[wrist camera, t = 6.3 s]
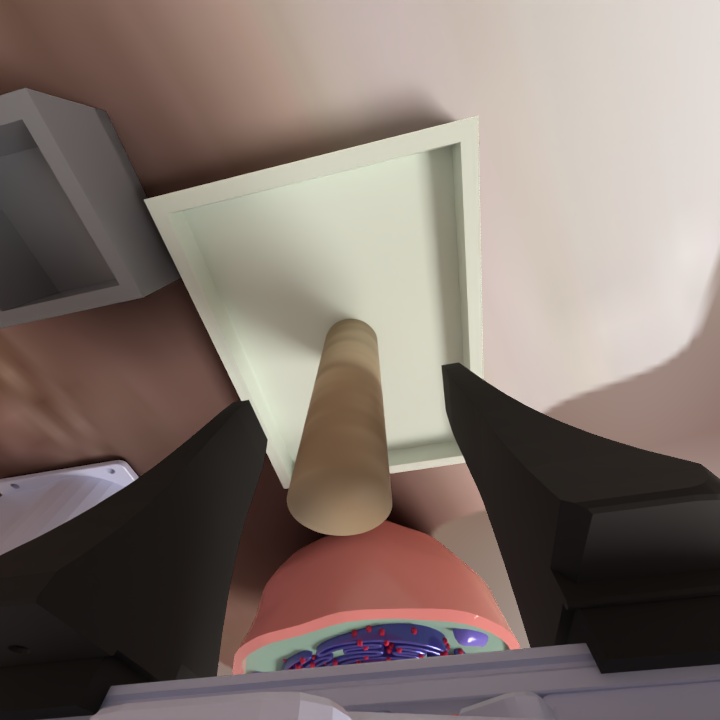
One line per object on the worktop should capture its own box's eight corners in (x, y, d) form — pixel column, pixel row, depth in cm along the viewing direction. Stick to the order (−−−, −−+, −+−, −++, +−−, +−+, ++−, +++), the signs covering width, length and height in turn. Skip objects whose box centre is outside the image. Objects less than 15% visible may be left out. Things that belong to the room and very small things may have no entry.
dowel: (335, 371, 16) (310, 542, 9) (317, 327, 15) (268, 480, 7) (383, 358, 16) (403, 525, 8) (368, 312, 15) (375, 456, 7)
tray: (289, 465, 21) (283, 488, 19) (169, 197, 13) (143, 199, 11) (475, 437, 19) (484, 459, 18) (462, 124, 12) (478, 115, 10)
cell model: (267, 604, 30) (221, 812, 20) (270, 452, 20) (185, 709, 10) (439, 617, 31) (477, 818, 21) (520, 479, 21) (658, 731, 12)
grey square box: (66, 302, 15) (0, 328, 12) (-38, 152, 12) (-155, 141, 9) (185, 276, 15) (143, 297, 12) (106, 111, 12) (25, 88, 9)
